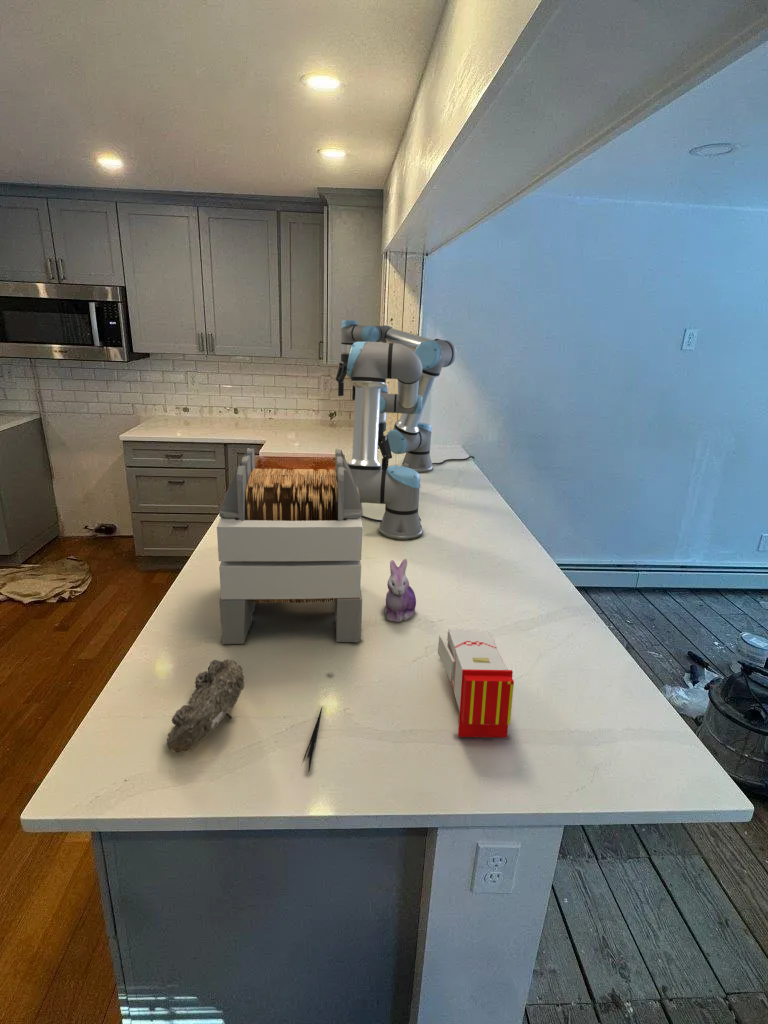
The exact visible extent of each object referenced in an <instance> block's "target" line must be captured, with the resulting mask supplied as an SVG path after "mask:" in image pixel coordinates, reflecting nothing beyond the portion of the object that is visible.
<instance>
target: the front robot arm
mask: <svg viewBox="0 0 768 1024" xmlns="http://www.w3.org/2000/svg"><path fill="white" fill-rule="evenodd" d="M346 376H347V377H349V378H350V379H351V380H350V382H351V384H352V386H353V385H354V386H355V400H354V410H353V411H354V413H353V432H352V433H353V436H352V452H351V453H352V456H351V459H350V460H349V461H348V462H347V464H348V466H349V468H350V470H351V472H352V475H353V477H354V479H355V481H356V483H357V486H358V491H359V495H360V499H361V504H363V503H364V504H378V505H385V507H384V508H385V509H384V513H383V515H382V519H376V518H372V517H369V516H365V515H362V517H361V519H365V520H368V521H372V522H375V523H376V522H377V523H379V526H378V533H379V534H380V535H381V536H382V537H385V538H387V539H389V540H395V541H410V540H415V539H418V538H420V537H421V536H422V535H423V525H422V524H421V522H422V519H421V517H420V515H419V507H420V506H419V505H420V504H419V503H420V489H421V475H420V473H418V472H417V471H415V470H413V469H411V468H408V467H404V466H402V465H389V460H390V459H393V455H392V452H391V450H390V445H389V440H388V435H387V434H386V435H385V433H384V432H385V431H386V430H387V422H386V421H387V413H388V414H402V413H404V414H420V413H421V410H422V396H420V395H418V384H419V379H420V378H421V376H422V363H421V361H420V359H419V357H418V356H417V355H416V354H415V352H413V351H412V350H411V349H410V348H408V347H407V346H405V345H402V344H399V343H383V342H369V341H366V342H355V343H354V344H353V345H352V347H351V350H350V353H349V358H348V365H347V374H346ZM387 380H397V393H388V391H389V389H388V386H387V385H386V381H387ZM378 448H379V450H378ZM378 451H380V453H381V456H382V458H381V463H380V462H379V460H378Z"/></svg>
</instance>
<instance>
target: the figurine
mask: <svg viewBox="0 0 768 1024" xmlns="http://www.w3.org/2000/svg"><path fill="white" fill-rule="evenodd" d="M407 567H408V559H406V558H404V559H403V560H402V561H401V563H400V565H399V566H398V565H397V563H396V562H395V561H394V560H393V559H391V560H390V561H389V570H390V576H389V578H388V579H387V589H388V591H387V592H386V594H385V595H386V596H385V607H384V615H385V616H386V620H387V621H391V622H395V623H400V622H402V621H406V620H409V619H410V618H411V617H413V616H414V615H415V610H416V606H417V597H416V593H415V591H414V590H413V587H411V586H410V582H409V579H408V577H407V574H406V571H407Z"/></svg>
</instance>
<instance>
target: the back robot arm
mask: <svg viewBox="0 0 768 1024" xmlns="http://www.w3.org/2000/svg"><path fill="white" fill-rule="evenodd" d="M340 335H341V337H340V341H341V342H340V353H341V354H340V362H339V363H338V368H337V372H336V377H335V381H336V382H337V383H338V384H337V389H338V390H337V396H338V397H344V395H345V394H344V391H345V390H344V389H345V386H344V385H345V383H344V382H345V379H346V376H347V365H348V358H349V353H350V350H351V347H352V345H353V344H354V343H355V342H366V341H369V342H383V343H399V344H402V345H405V346H407V347H408V348H410V349H411V350H412V351H413V352H415V354H416V355H417V356H418V357H419V359H420V361H421V363H422V376H421V378H420V379H419V384H418V395H420V396H422V410H421V413H420V414H404V413H401V415H400V418H399V419H398V420H396V421H395V422H394V425H393V428H392V429H390V430H389V431H388V432H387V433H386V435H388V440H389V445H390V450H391V453H393V454H395V455H403V454H405V455H404V456H403V457H404V458H403V460H402V462H401V466H404V467H408V468H411V469H413V470H415V471H417V472H418V473H419V474H421V473H422V474H423V473H429V472H431V471H433V466H434V465H443V464H444V463H446V462H452V461H457V462H459V461H460V462H461V461H463V462H464V461H467V460H469V459H471V458H472V459H476V458H475V456H473V455H469V456H468V457H466V458H465V457H464V458H447V459H444V460H443V461H441V462H433V461H432V458H431V442H432V441H431V440H432V433H433V432H432V425H431V424H429V423H425V422H420V420H421V417H422V414H423V412H424V408H425V406H426V404H427V400H428V397H429V394H430V392H431V389H432V386H433V384H434V381H435V379H436V378H438V377H440V375H441V372H442V370H443V368H448V367H450V366H451V365H453V363H455V361H456V359H457V354H458V352H457V348H456V346H455V344H454V343H452V341H449V340H445V339H440V338H434V339H432V338H427V337H424V336H421V335H417V334H414V333H410V332H407V331H403V330H399V329H396V328H393V327H392V326H391V325H366V324H365V325H363V324H361V325H359V324H358V321H357V320H355V319H343V320H342V321H341V327H340ZM351 392H352V393H351V395H352V396H351V397H352V399H351V400H352V401H355V386H354V385H353V384H352V391H351Z"/></svg>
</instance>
